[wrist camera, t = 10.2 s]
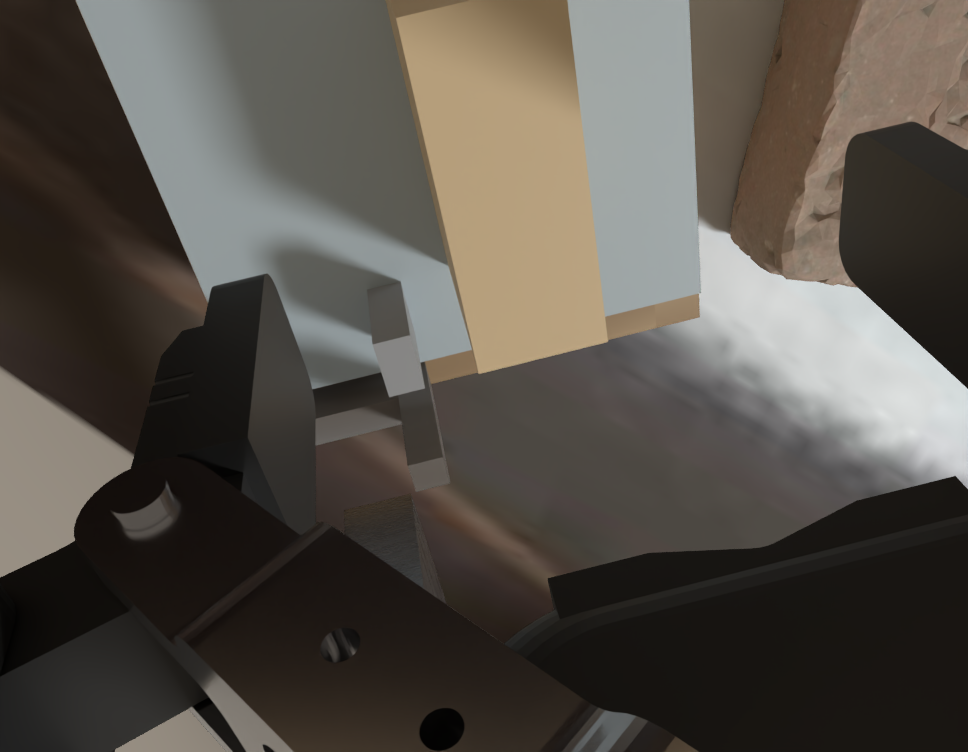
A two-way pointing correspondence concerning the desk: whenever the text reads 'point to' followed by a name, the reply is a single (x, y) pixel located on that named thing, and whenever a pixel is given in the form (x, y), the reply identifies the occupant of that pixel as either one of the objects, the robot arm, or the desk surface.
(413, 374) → the lid
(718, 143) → the desk surface
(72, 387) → the desk surface
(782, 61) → the brick
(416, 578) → the grey angled block
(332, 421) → the wooden box
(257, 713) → the robot arm
